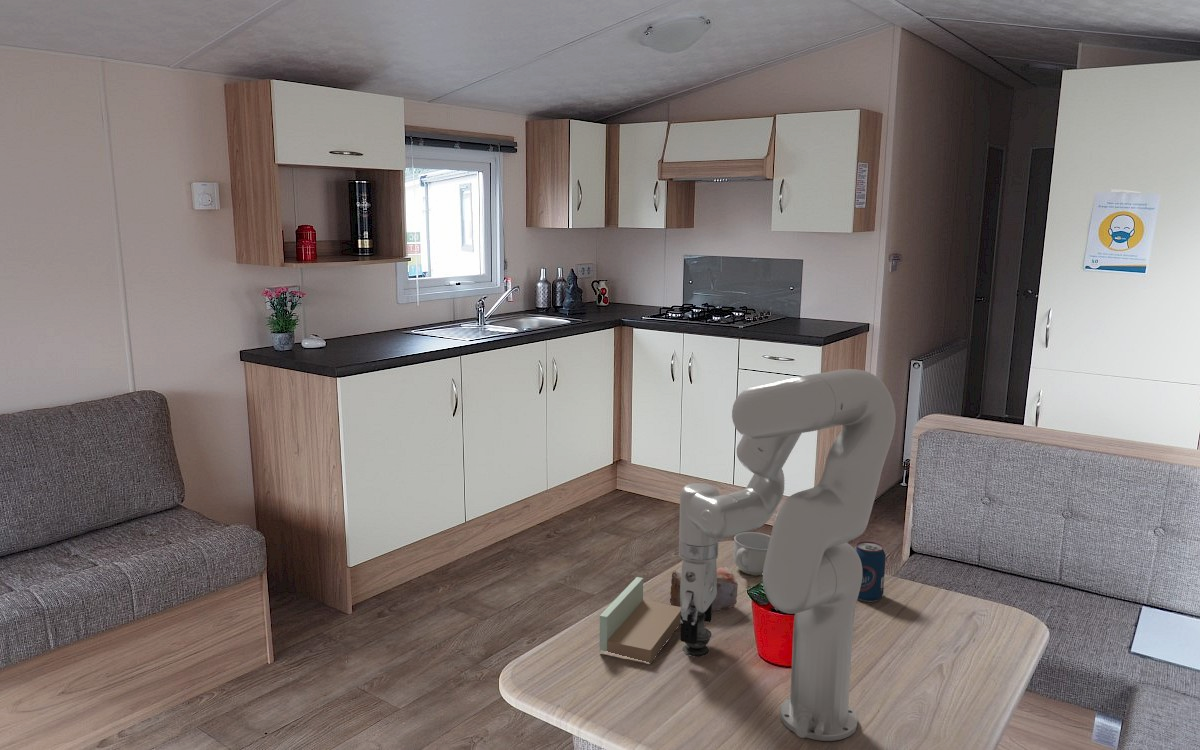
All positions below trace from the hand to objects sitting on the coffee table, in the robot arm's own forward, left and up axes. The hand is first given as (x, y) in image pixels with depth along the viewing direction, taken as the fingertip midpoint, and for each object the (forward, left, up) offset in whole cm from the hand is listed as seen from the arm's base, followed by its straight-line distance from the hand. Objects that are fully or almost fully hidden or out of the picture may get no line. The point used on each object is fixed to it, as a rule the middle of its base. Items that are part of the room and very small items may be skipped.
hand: (696, 631), depth 168 cm
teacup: (+42, -1, -4) cm, 42 cm away
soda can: (+39, -28, -4) cm, 48 cm away
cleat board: (+1, +11, -4) cm, 12 cm away
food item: (+19, +4, -4) cm, 20 cm away
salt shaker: (0, 0, -4) cm, 4 cm away
